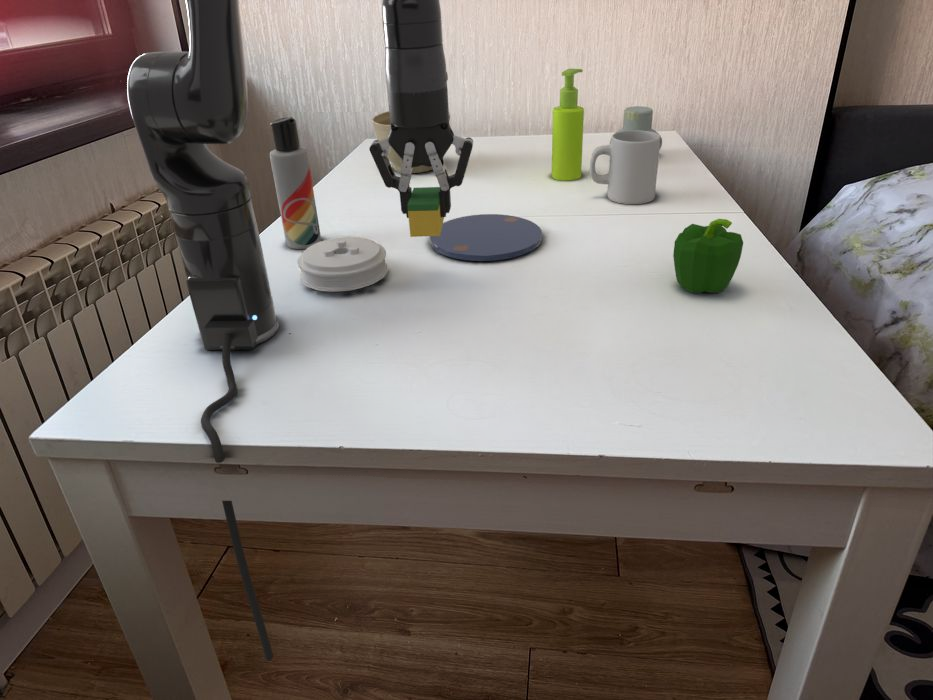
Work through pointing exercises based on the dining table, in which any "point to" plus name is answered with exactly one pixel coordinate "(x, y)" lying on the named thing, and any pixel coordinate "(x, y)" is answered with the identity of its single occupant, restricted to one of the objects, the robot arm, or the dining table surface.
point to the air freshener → (638, 120)
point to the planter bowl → (382, 132)
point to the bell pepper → (707, 256)
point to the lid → (342, 264)
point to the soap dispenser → (567, 132)
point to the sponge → (425, 212)
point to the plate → (487, 237)
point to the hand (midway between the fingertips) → (427, 215)
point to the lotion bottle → (294, 186)
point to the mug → (629, 166)
